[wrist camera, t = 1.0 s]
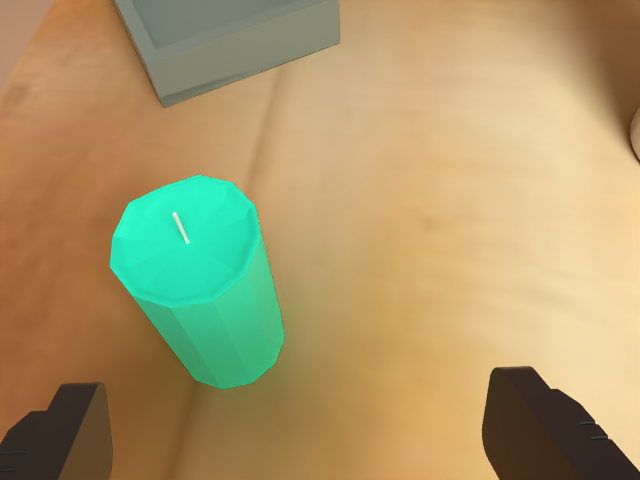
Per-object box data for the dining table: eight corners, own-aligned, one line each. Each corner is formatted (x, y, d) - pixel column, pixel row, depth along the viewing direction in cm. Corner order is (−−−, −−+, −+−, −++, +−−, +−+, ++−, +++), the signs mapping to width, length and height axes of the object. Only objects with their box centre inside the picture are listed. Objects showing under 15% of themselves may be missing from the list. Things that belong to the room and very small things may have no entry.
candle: (290, 288, 32) (265, 152, 22) (279, 392, 29) (244, 291, 19) (187, 283, 33) (115, 148, 23) (165, 386, 30) (71, 284, 19)
